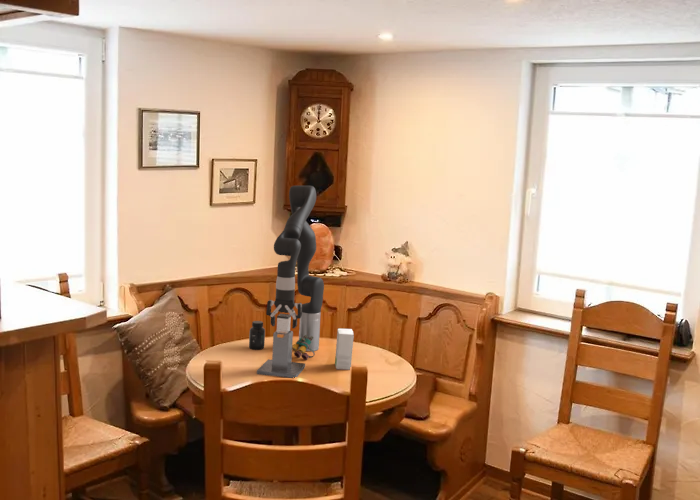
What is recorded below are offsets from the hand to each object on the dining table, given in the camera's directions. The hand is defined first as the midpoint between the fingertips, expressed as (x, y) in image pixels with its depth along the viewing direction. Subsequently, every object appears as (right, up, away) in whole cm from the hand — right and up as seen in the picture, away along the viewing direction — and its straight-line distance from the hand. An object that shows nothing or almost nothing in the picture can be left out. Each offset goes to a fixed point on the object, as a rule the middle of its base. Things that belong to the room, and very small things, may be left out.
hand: (283, 326), depth 287 cm
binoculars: (+6, -16, +21) cm, 27 cm away
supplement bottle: (-15, -13, +32) cm, 38 cm away
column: (-1, -16, +2) cm, 16 cm away
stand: (-1, -18, +3) cm, 18 cm away
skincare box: (+24, -18, +13) cm, 33 cm away
